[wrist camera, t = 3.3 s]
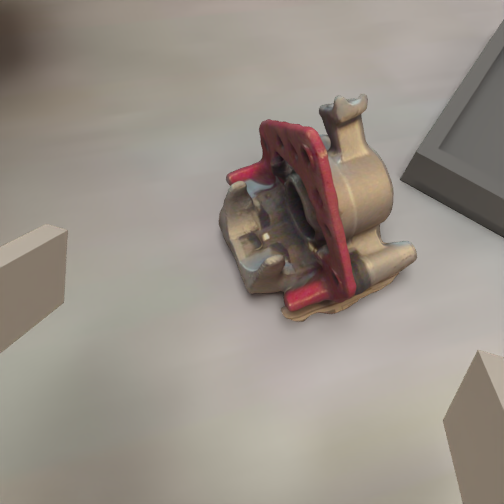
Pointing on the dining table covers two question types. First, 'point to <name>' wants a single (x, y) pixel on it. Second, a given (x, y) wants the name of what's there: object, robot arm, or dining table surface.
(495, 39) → the parts tray
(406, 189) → the dining table surface
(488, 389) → the robot arm
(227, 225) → the brake caliper
